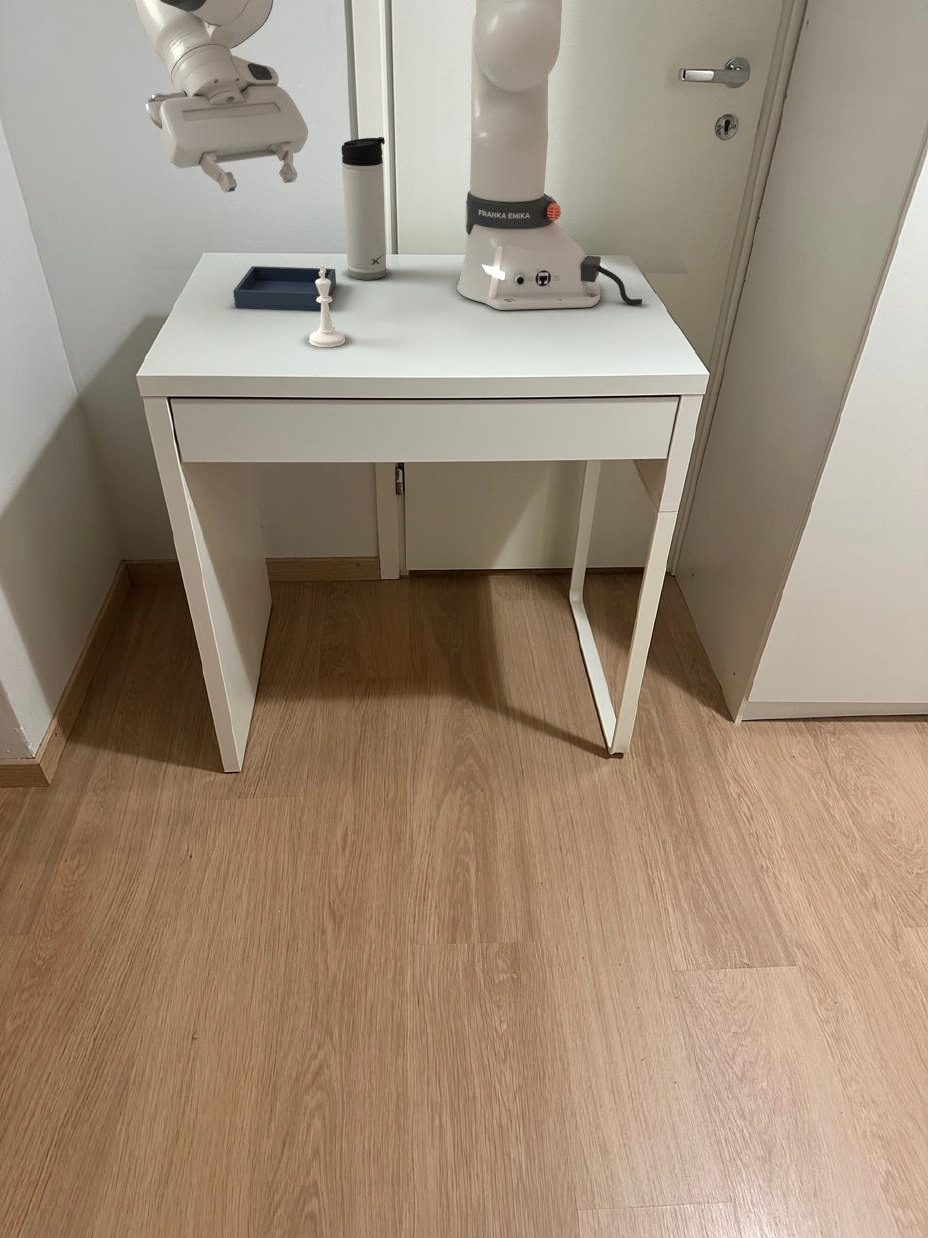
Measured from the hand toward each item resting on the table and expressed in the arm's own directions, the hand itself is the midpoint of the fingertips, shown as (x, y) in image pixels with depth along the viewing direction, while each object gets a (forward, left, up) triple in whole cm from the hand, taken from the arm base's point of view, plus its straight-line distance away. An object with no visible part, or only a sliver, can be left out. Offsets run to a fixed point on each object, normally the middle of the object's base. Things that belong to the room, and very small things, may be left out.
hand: (262, 184), depth 117 cm
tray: (0, -9, -18) cm, 20 cm away
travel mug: (-11, -21, -18) cm, 30 cm away
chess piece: (-9, +9, -18) cm, 22 cm away
